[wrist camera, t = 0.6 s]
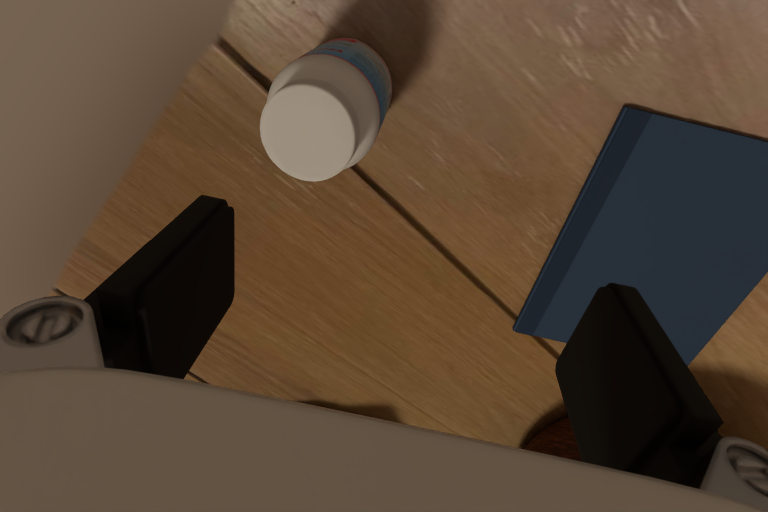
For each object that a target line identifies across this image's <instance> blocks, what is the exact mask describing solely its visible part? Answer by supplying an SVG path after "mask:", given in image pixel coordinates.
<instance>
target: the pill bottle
mask: <svg viewBox="0 0 768 512" xmlns="http://www.w3.org/2000/svg"><path fill="white" fill-rule="evenodd" d="M391 97H392V80H391V76H390V72H389V70H388V68H387V66H386V64H385V62H384V61H383V59H382V58H381V57H380V56H379V54H378V53H377V52H376V51H374V50H373V49H372V48H371V47H370V46H368V45H367V44H365V43H363V42H361V41H359V40H356V39H352V38H337V39H333V40H330V41H327V42H325V43H323V44H321V45H320V46H318V47H316V48H315V49H313V50H311V51H310V52H308V53H306V54H304V55H303V56H301V57H299V58H298V59H296V60H294V61H293V62H291V63H290V64H288V65H287V66H286V67H285V68H283V69H282V70H281V72H280V73H279V74H278V75H277V77H276V78H275V80H274V81H273V83H272V85H271V88H270V90H269V93H268V98H267V103H266V105H265V107H264V109H263V112H262V115H261V120H260V134H261V139H262V143H263V145H264V148H265V150H266V152H267V154H268V155H269V157H270V158H271V160H272V161H273V162H274V163H275V164H276V165H277V166H278V167H279V168H280V169H281V170H282V171H284V172H285V173H287V174H289V175H291V176H292V177H295V178H297V179H301V180H306V181H322V180H326V179H329V178H331V177H333V176H335V175H337V174H338V173H339V172H341V171H342V170H344V169H346V168H349V167H351V166H353V165H354V164H356V163H357V162H359V161H360V160H361V159H362V158H363V157H364V156H365V155H366V154H367V153H368V152H369V150H370V149H371V147H372V145H373V143H374V142H375V140H376V137H377V135H378V132H379V130H380V127H381V125H382V123H383V120H384V118H385V115H386V113H387V110H388V108H389V105H390V102H391Z"/></svg>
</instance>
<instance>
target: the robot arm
mask: <svg viewBox="0 0 768 512" xmlns="http://www.w3.org/2000/svg"><path fill="white" fill-rule="evenodd" d="M233 298H234V209H233V207H229V206H228V204H227V201H226V200H224V199H219V198H215V197H210V196H205V195H201V196H199V197H198V198H197V199H196V200H195V201H194V202H193V203H192V204H191V205H189V206H188V207H187V208H186V209H185V210H184V211H183V212H182V213H181V214H179V215H178V216H177V217H176V218H175V219H174V220H173V221H172V222H171V223H169V224H168V225H167V226H166V227H165V228H164V229H163V230H162V231H161V232H159V233H158V234H157V235H156V236H155V237H154V238H153V239H152V240H150V241H149V242H148V243H146V244H145V245H144V246H143V247H142V248H141V249H140V250H139V251H137V252H136V253H135V254H134V255H133V256H132V257H131V258H130V259H129V260H127V261H126V262H125V263H124V264H123V265H122V266H121V267H120V268H119V269H117V270H116V271H115V272H114V273H113V274H112V275H111V276H110V277H109V278H107V279H106V280H105V281H104V282H103V283H102V284H101V285H100V286H99V287H97V288H96V289H95V290H94V291H93V292H92V293H91V294H90V295H88V296H87V297H86V298H85V299H84V300H82V299H78V298H75V297H71V296H51V297H43V298H39V299H35V300H32V301H28V302H26V303H24V304H22V305H19V306H17V307H15V308H13V309H12V310H11V311H9V312H8V313H6V314H5V315H4V316H3V317H2V318H1V319H0V512H768V450H766V449H765V448H763V447H761V446H759V445H757V444H755V443H754V442H751V441H749V440H746V439H743V438H740V437H733V436H729V437H724V438H721V436H720V434H719V433H718V431H717V429H718V428H719V427H720V426H721V425H722V424H723V423H724V422H723V421H722V419H721V418H720V416H719V415H718V413H717V412H716V410H715V409H714V407H713V405H712V404H711V402H710V401H709V399H708V398H707V396H706V395H705V393H704V392H703V390H702V388H701V387H700V385H699V384H698V382H697V381H696V379H695V378H694V376H693V375H692V373H691V372H690V370H689V368H688V367H687V365H686V364H685V362H684V361H683V359H682V358H681V356H680V355H679V353H678V351H677V350H676V348H675V347H674V345H673V344H672V342H671V341H670V339H669V338H668V336H667V335H666V333H665V331H664V330H663V328H662V327H661V325H660V324H659V322H658V321H657V319H656V318H655V316H654V314H653V313H652V311H651V310H650V308H649V307H648V305H647V304H646V302H645V301H644V299H643V298H642V296H641V294H640V293H639V291H638V290H637V289H636V288H634V287H631V286H626V285H621V284H617V283H609V284H607V285H606V286H605V287H603V286H602V287H600V288H598V290H597V291H596V293H595V295H594V296H593V298H592V300H591V302H590V304H589V305H588V307H587V309H586V311H585V312H584V314H583V316H582V318H581V319H580V321H579V323H578V325H577V326H576V328H575V330H574V332H573V334H572V335H571V337H570V339H569V341H568V342H567V344H566V346H565V348H564V349H563V351H562V353H561V355H560V356H559V358H558V360H557V363H556V369H555V370H556V376H557V380H558V383H559V386H560V390H561V393H562V396H563V400H564V403H565V406H566V410H567V413H568V416H569V420H570V423H571V426H572V430H573V433H574V436H575V439H576V443H577V446H578V449H579V453H580V456H581V459H582V462H580V461H576V460H571V459H567V458H562V457H557V456H553V455H548V454H543V453H539V452H534V451H529V450H525V449H520V448H515V447H511V446H506V445H501V444H497V443H492V442H488V441H483V440H478V439H473V438H468V437H464V436H459V435H454V434H449V433H445V432H440V431H435V430H430V429H426V428H421V427H416V426H411V425H407V424H402V423H397V422H392V421H387V420H383V419H378V418H373V417H368V416H363V415H359V414H354V413H349V412H344V411H339V410H334V409H329V408H324V407H319V406H315V405H310V404H305V403H300V402H295V401H290V400H285V399H280V398H275V397H270V396H265V395H261V394H256V393H251V392H246V391H241V390H236V389H231V388H226V387H221V386H215V385H210V384H205V383H200V382H195V381H190V380H184V377H185V376H186V374H187V373H188V371H189V370H190V368H191V367H192V365H193V363H194V362H195V360H196V359H197V357H198V356H199V354H200V352H201V351H202V349H203V348H204V346H205V345H206V343H207V342H208V340H209V338H210V337H211V335H212V334H213V332H214V331H215V329H216V327H217V326H218V324H219V323H220V321H221V320H222V318H223V317H224V315H225V313H226V312H227V310H228V309H229V307H230V305H231V304H232V301H233Z"/></svg>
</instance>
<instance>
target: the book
mask: <svg viewBox="0 0 768 512" xmlns="http://www.w3.org/2000/svg"><path fill="white" fill-rule="evenodd" d="M767 272H768V141H764V140H760V139H756V138H752V137H748V136H744V135H740V134H736V133H732V132H728V131H724V130H720V129H716V128H712V127H708V126H704V125H700V124H696V123H692V122H688V121H684V120H680V119H676V118H672V117H668V116H664V115H660V114H656V113H652V112H648V111H644V110H640V109H636V108H632V107H628V106H623V108H622V110H621V112H620V114H619V116H618V118H617V120H616V122H615V124H614V126H613V128H612V130H611V132H610V134H609V136H608V138H607V140H606V142H605V144H604V146H603V148H602V150H601V152H600V154H599V156H598V158H597V160H596V162H595V164H594V166H593V168H592V170H591V172H590V174H589V176H588V178H587V180H586V182H585V184H584V186H583V188H582V190H581V192H580V194H579V196H578V198H577V200H576V202H575V204H574V206H573V208H572V210H571V212H570V214H569V216H568V218H567V220H566V222H565V224H564V226H563V228H562V230H561V232H560V234H559V236H558V238H557V240H556V242H555V244H554V246H553V248H552V250H551V252H550V254H549V256H548V258H547V260H546V262H545V264H544V266H543V268H542V270H541V272H540V274H539V276H538V278H537V280H536V282H535V284H534V286H533V288H532V290H531V292H530V294H529V296H528V298H527V300H526V302H525V304H524V306H523V308H522V310H521V312H520V314H519V316H518V318H517V320H516V322H515V324H514V326H513V331H515V332H518V333H522V334H527V335H531V336H533V335H535V336H539V337H543V338H547V339H552V340H556V341H560V342H565V343H567V342H568V341H569V339H570V337H571V335H572V334H573V332H574V330H575V328H576V326H577V325H578V323H579V321H580V319H581V318H582V316H583V314H584V312H585V311H586V309H587V307H588V305H589V304H590V302H591V300H592V298H593V296H594V295H595V293H596V291H597V290H598V288H600V287H602V286H603V287H605V286H606V285H607V284H609V283H617V284H621V285H626V286H631V287H634V288H636V289H637V290H638V291H639V293H640V294H641V296H642V298H643V299H644V301H645V302H646V304H647V305H648V307H649V308H650V310H651V311H652V313H653V314H654V316H655V318H656V319H657V321H658V322H659V324H660V325H661V327H662V328H663V330H664V331H665V333H666V335H667V336H668V338H669V339H670V341H671V342H672V344H673V345H674V347H675V348H676V350H677V351H678V353H679V355H680V356H681V358H682V359H683V361H684V362H685V364H686V365H687V366H688V365H689V364H690V363H691V362H692V360H693V359H694V358H695V357H696V356H697V355H698V353H699V352H700V351H701V350H702V349H703V347H704V346H705V345H706V344H707V343H708V342H709V340H710V339H711V338H712V337H713V336H714V334H715V333H716V332H717V331H718V330H719V329H720V327H721V326H722V325H723V324H724V323H725V321H726V320H727V319H728V318H729V317H730V316H731V314H732V313H733V312H734V311H735V310H736V309H737V307H738V306H739V305H740V304H741V303H742V301H743V300H744V299H745V298H746V297H747V296H748V294H749V293H750V292H751V291H752V290H753V288H754V287H755V286H756V285H757V284H758V283H759V281H760V280H761V279H762V278H763V277H764V275H765V274H766V273H767Z"/></svg>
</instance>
